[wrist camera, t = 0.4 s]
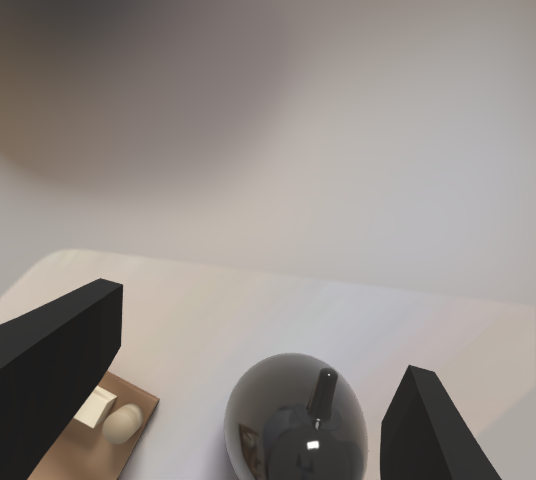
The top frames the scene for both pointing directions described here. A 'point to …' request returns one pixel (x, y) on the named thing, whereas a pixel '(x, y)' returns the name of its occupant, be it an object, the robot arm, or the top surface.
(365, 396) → the top surface
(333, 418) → the dark grey tapered dome
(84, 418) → the hinged leg
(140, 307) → the top surface
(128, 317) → the top surface
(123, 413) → the stool seat
